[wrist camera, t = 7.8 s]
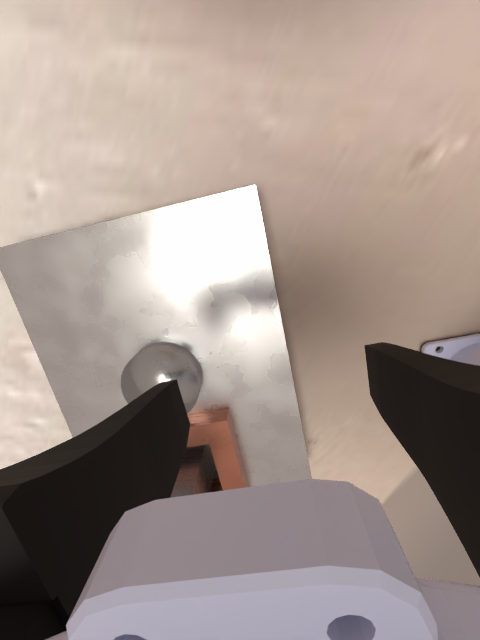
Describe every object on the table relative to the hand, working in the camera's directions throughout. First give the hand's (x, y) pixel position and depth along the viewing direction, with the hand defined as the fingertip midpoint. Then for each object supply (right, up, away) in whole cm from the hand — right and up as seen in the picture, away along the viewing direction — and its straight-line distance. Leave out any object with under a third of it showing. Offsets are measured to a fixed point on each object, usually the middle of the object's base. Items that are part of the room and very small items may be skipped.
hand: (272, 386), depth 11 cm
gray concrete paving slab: (-5, -3, +11) cm, 13 cm away
